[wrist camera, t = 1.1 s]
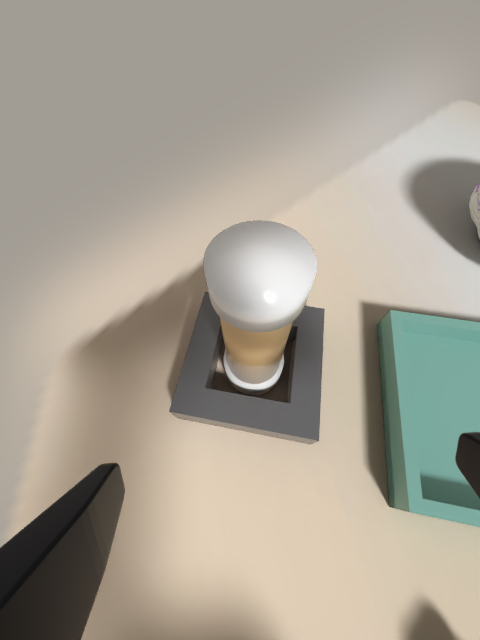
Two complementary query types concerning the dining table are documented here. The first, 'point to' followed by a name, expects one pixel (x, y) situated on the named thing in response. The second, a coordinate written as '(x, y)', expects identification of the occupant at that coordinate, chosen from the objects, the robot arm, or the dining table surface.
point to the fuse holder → (246, 411)
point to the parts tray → (429, 411)
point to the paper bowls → (475, 207)
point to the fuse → (258, 297)
